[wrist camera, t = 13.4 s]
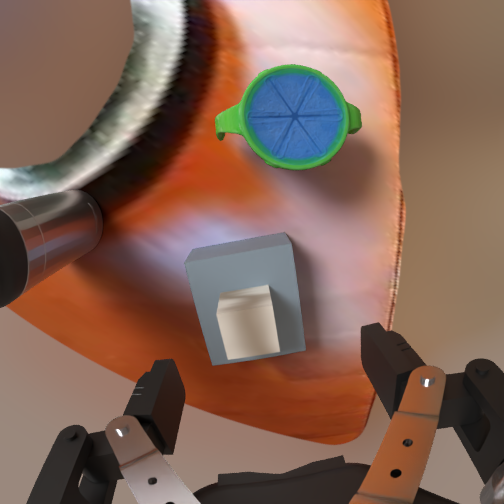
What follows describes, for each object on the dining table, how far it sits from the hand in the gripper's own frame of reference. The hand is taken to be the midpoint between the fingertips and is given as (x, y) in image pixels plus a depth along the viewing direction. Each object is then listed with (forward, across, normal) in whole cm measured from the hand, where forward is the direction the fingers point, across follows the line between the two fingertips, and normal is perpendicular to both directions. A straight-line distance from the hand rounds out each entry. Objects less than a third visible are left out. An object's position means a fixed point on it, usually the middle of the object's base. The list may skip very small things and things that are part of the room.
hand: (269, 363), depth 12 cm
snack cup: (+28, -6, -12) cm, 31 cm away
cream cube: (+22, +2, +8) cm, 24 cm away
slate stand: (+28, +2, +8) cm, 29 cm away
